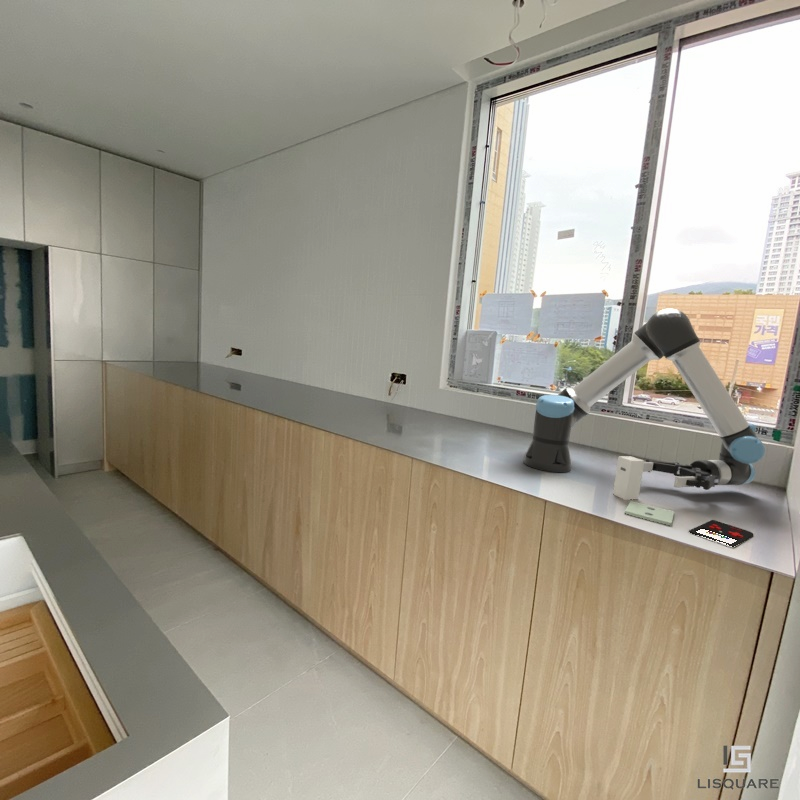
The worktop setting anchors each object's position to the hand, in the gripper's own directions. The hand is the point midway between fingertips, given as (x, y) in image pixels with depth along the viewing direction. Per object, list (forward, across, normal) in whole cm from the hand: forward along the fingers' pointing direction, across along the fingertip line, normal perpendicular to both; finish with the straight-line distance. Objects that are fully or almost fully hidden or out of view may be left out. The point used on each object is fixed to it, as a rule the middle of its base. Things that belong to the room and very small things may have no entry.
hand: (654, 474), depth 127 cm
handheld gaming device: (+5, -24, -7) cm, 25 cm away
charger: (+9, 0, -6) cm, 11 cm away
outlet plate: (+13, -12, -6) cm, 19 cm away
